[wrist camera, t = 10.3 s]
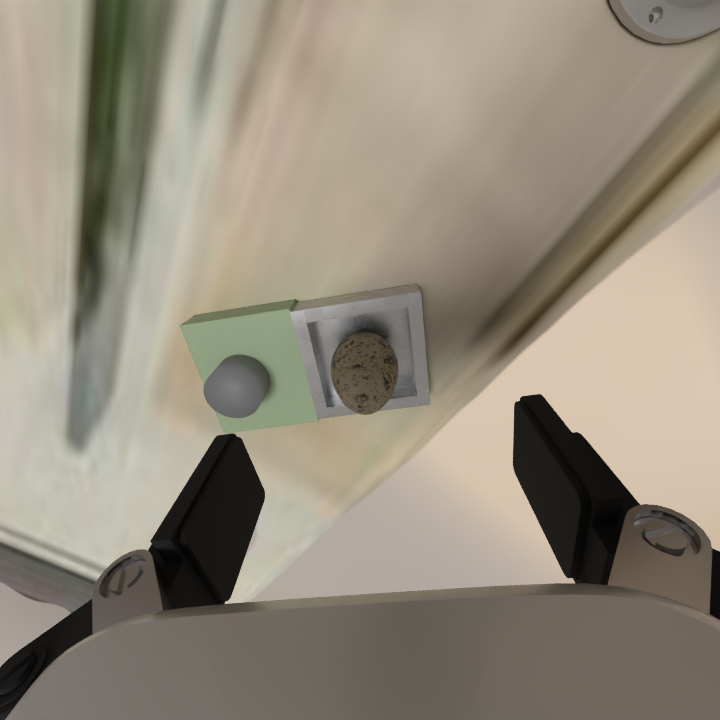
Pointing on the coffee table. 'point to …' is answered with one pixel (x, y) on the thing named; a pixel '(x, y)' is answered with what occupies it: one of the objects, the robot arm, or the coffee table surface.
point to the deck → (267, 348)
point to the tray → (363, 314)
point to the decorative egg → (364, 372)
